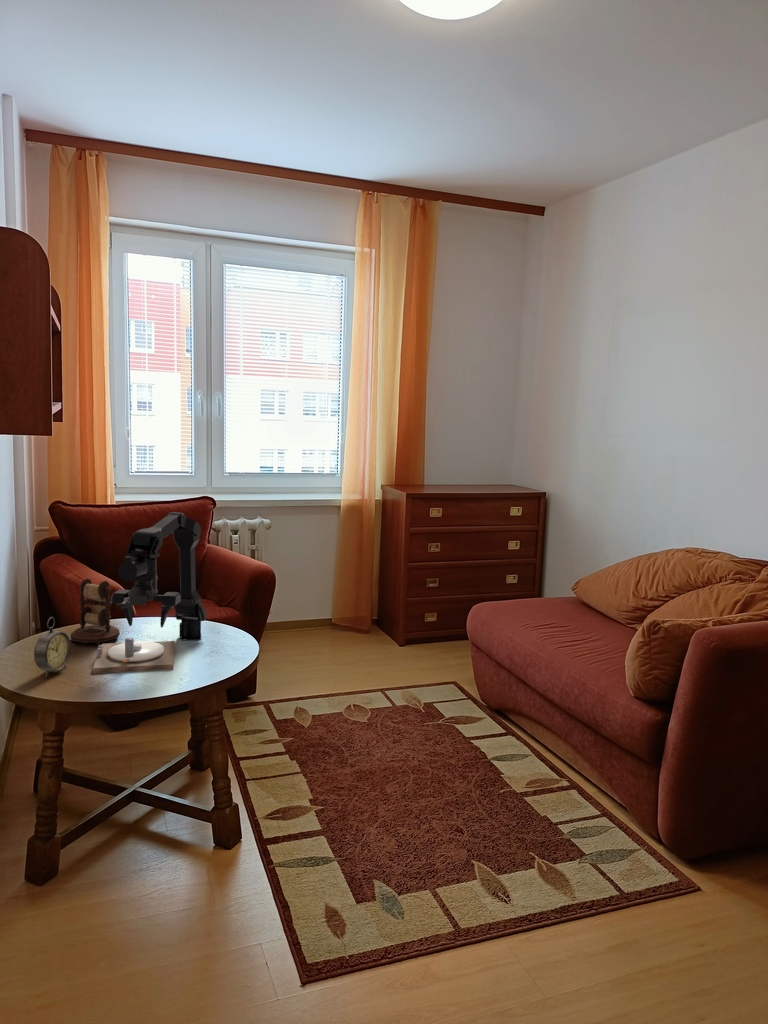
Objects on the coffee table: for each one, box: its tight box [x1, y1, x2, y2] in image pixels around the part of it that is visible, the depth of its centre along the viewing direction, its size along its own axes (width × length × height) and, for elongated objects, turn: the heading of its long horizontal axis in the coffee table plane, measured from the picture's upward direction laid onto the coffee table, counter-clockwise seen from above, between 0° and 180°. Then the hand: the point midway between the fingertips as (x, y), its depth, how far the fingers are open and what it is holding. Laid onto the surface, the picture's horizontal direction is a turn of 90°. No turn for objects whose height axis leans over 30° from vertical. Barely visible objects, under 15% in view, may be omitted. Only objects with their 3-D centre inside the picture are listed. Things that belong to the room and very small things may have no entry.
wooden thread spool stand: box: [70, 578, 120, 647], centre depth 232 cm, size 15×15×20 cm
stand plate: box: [92, 640, 176, 674], centre depth 217 cm, size 22×22×4 cm
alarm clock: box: [33, 616, 72, 679], centre depth 202 cm, size 11×5×16 cm, turn 168°
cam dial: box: [108, 637, 164, 662], centre depth 216 cm, size 18×16×6 cm
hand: (146, 626), depth 210 cm, fingers open, 9 cm apart
